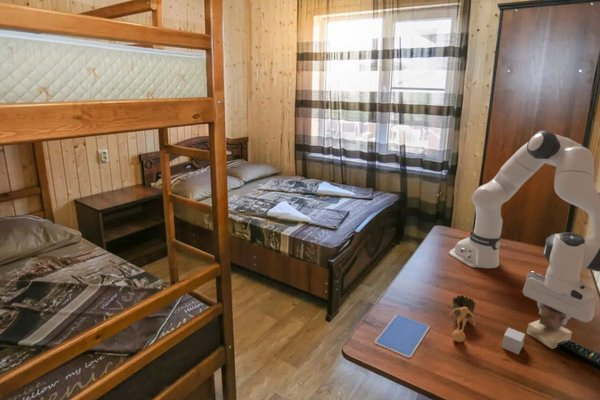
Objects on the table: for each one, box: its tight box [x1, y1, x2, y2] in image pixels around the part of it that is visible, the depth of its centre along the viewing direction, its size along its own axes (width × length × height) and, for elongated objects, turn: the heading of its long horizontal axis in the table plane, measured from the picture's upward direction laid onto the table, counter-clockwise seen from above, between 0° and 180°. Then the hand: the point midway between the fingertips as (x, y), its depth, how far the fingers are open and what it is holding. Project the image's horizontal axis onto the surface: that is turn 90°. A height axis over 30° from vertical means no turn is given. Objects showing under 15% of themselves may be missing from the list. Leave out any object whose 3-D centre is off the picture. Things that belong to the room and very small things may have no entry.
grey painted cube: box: [501, 327, 526, 355], centre depth 124 cm, size 5×5×5 cm
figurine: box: [448, 307, 476, 343], centre depth 127 cm, size 8×6×12 cm
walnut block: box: [539, 305, 566, 331], centre depth 127 cm, size 5×5×6 cm
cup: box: [452, 295, 477, 323], centre depth 138 cm, size 8×7×8 cm
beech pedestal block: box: [526, 318, 573, 350], centre depth 129 cm, size 9×9×4 cm
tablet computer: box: [374, 314, 431, 359], centre depth 131 cm, size 19×13×1 cm, turn 144°
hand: (552, 318), depth 128 cm, fingers closed on walnut block, 5 cm apart
